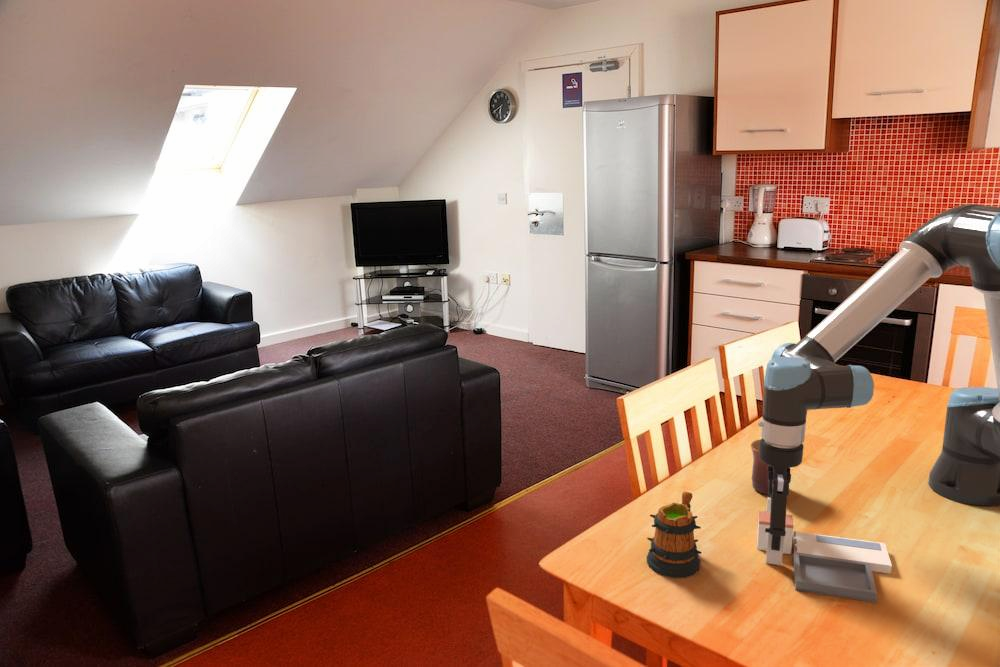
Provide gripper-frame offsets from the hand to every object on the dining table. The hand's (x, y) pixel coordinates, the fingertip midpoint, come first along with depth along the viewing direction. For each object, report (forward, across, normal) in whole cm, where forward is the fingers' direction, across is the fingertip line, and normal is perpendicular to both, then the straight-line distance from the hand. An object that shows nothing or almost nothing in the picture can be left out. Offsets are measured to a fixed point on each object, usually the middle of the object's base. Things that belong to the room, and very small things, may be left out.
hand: (773, 545), depth 143 cm
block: (0, 0, 0) cm, 0 cm away
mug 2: (0, -23, 0) cm, 23 cm away
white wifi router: (0, 0, +12) cm, 12 cm away
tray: (0, +9, +10) cm, 13 cm away
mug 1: (0, +10, -17) cm, 20 cm away
